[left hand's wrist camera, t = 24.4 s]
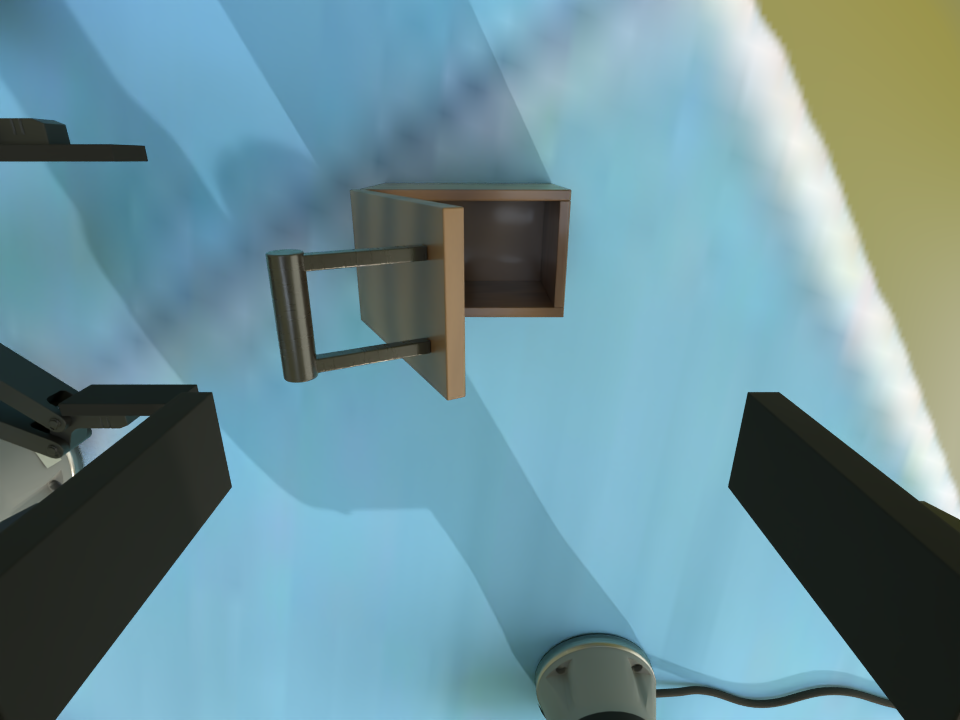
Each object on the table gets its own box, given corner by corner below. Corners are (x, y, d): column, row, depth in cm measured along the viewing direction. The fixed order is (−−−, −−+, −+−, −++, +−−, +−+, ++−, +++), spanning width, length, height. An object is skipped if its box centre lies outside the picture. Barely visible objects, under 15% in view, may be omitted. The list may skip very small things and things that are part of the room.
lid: (464, 206, 23) (265, 215, 19) (465, 396, 26) (297, 434, 23) (364, 189, 36) (234, 192, 32) (374, 318, 39) (258, 333, 36)
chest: (552, 183, 45) (571, 189, 36) (547, 287, 49) (563, 317, 39) (383, 183, 45) (359, 189, 36) (390, 286, 49) (369, 317, 39)
